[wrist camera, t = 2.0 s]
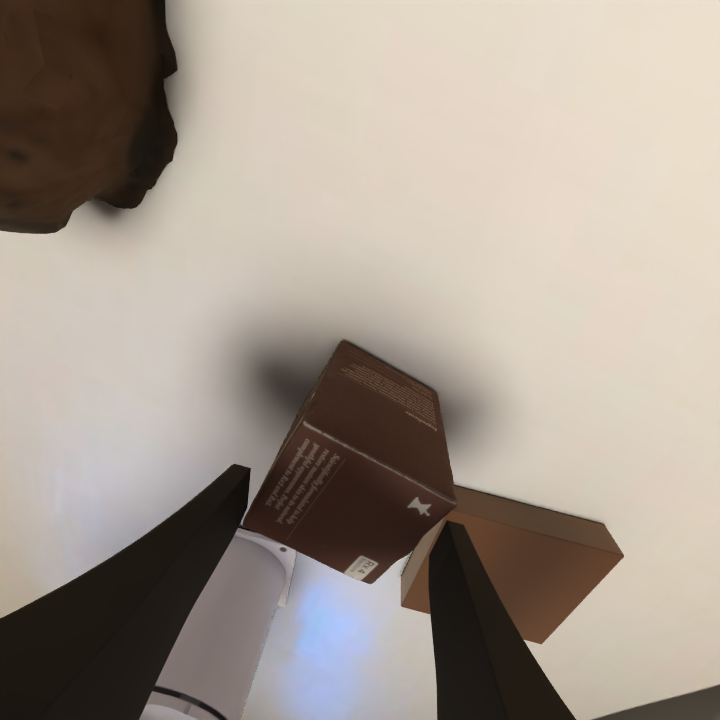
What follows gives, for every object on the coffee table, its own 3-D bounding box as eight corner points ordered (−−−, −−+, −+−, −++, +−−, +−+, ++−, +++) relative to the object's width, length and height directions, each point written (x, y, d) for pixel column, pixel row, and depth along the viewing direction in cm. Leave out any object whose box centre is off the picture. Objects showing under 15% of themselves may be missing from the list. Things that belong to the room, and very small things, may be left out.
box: (343, 335, 16) (302, 418, 10) (441, 392, 17) (464, 505, 10) (295, 417, 19) (236, 526, 12) (381, 463, 20) (370, 591, 13)
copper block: (400, 577, 24) (400, 606, 22) (444, 482, 20) (448, 509, 18) (531, 612, 24) (541, 645, 22) (604, 524, 19) (625, 556, 18)
